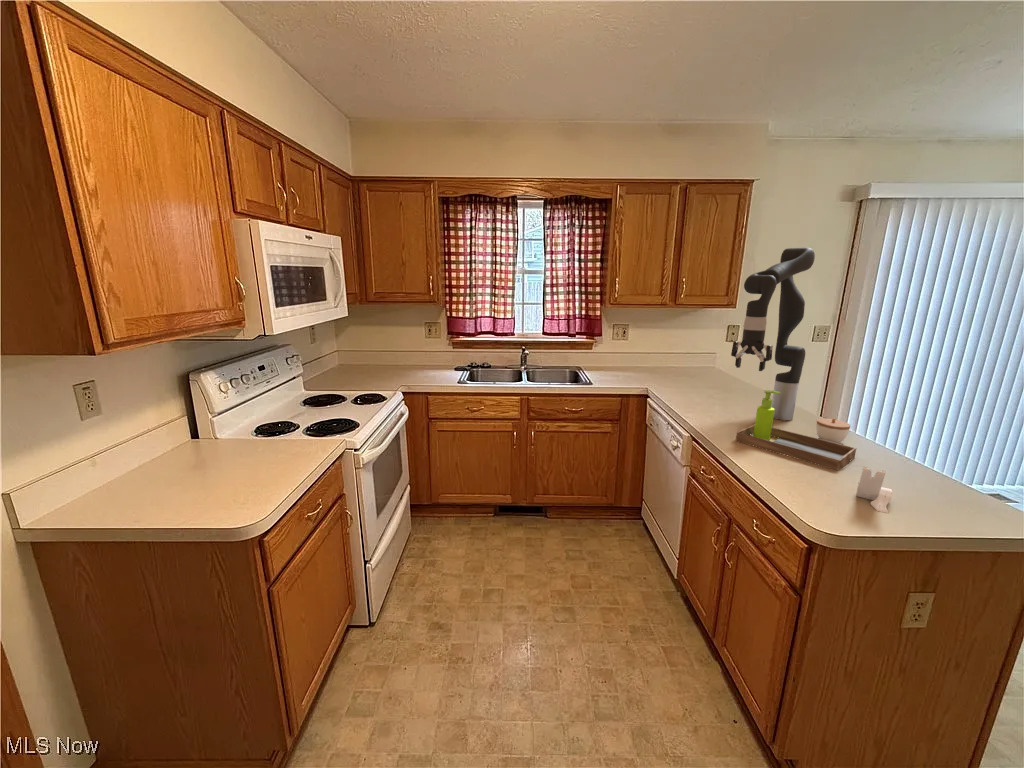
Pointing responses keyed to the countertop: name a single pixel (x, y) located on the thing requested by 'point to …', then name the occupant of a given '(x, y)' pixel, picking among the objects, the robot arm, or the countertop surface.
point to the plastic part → (874, 489)
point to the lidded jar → (832, 430)
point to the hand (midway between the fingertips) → (749, 369)
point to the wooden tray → (801, 447)
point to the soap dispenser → (764, 417)
